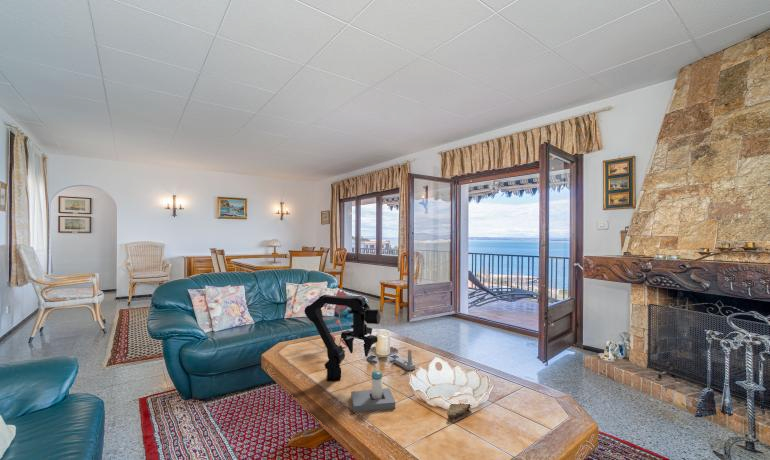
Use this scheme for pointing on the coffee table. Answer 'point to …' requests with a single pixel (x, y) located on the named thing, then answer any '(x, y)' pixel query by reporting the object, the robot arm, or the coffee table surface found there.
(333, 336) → the figurine
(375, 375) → the peg
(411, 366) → the electronic device
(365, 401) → the socket board
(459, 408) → the stone
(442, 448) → the coffee table surface
